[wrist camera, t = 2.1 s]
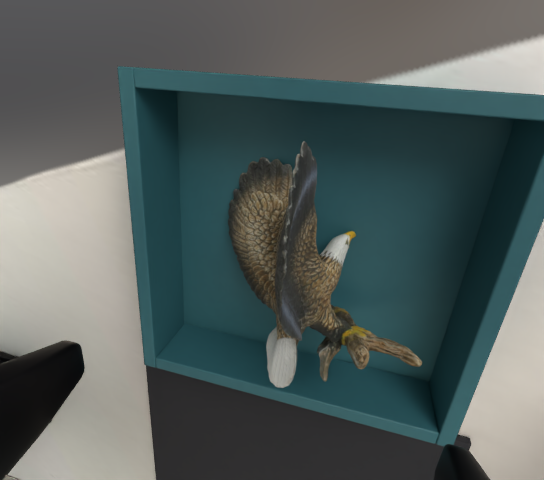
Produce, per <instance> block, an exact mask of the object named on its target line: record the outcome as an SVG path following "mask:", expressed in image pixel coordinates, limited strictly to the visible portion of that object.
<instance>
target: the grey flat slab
mask: <svg viewBox="0 0 544 480" xmlns="http://www.w3.org/2000/svg"><path fill="white" fill-rule="evenodd" d="M3 480H18V479H15V478H12V477H9V476H7V475H6V477H5V478H4V479H3Z"/></svg>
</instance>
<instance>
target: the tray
mask: <svg viewBox="0 0 544 480" xmlns="http://www.w3.org/2000/svg"><path fill="white" fill-rule="evenodd" d="M118 79H119V90H120V101H121V112H122V122H123V134H124V144H125V156H126V167H127V178H128V189H129V200H130V211H131V221H132V232H133V243H134V254H135V265H136V276H137V287H138V298H139V309H140V320H141V331H142V342H143V353H144V364H145V365H148V366H151V367H157V368H159V369H163V370H167V371H170V372H174V373H178V374H181V375H185V376H189V377H192V378H196V379H199V380H203V381H207V382H210V383H214V384H218V385H221V386H225V387H229V388H232V389H236V390H240V391H243V392H247V393H251V394H254V395H258V396H262V397H265V398H269V399H273V400H276V401H280V402H284V403H287V404H291V405H295V406H298V407H302V408H305V409H309V410H313V411H316V412H320V413H324V414H327V415H331V416H335V417H338V418H342V419H346V420H349V421H353V422H357V423H360V424H364V425H368V426H371V427H375V428H379V429H382V430H386V431H390V432H393V433H397V434H401V435H404V436H408V437H411V438H415V439H419V440H422V441H426V442H430V443H433V444H435V443H436V444H437V445H441V446H445V445H447V444H451V445H454V442H455V440H456V437H457V435H458V432H459V430H460V427H461V425H462V422H463V420H464V417H465V415H466V412H467V410H468V407H469V405H470V402H471V400H472V397H473V395H474V392H475V390H476V387H477V385H478V382H479V380H480V377H481V375H482V372H483V370H484V367H485V365H486V362H487V360H488V357H489V355H490V352H491V350H492V347H493V345H494V342H495V340H496V337H497V335H498V332H499V330H500V327H501V325H502V322H503V320H504V317H505V315H506V312H507V310H508V307H509V305H510V302H511V300H512V297H513V295H514V292H515V290H516V287H517V285H518V282H519V280H520V277H521V275H522V272H523V270H524V267H525V264H526V262H527V259H528V257H529V254H530V252H531V249H532V247H533V244H534V242H535V239H536V237H537V234H538V232H539V229H540V227H541V224H542V222H543V219H544V95H535V94H520V93H505V92H490V91H476V90H461V89H446V88H431V87H417V86H402V85H387V84H372V83H358V82H342V81H328V80H313V79H298V78H283V77H268V76H253V75H240V74H225V73H209V72H195V71H181V70H166V69H150V68H137V67H136V68H134V67H122V66H119V67H118ZM303 141H305V142H306V143H307V145H308V146H309V147H310V149H311V152H312V156H314V157H315V159H316V163H317V185H316V192H315V198H314V203H315V210H316V215H317V230H316V246H317V251H318V254H319V255H320V254H321V253H322V252H323V251H324V249H325V248H326V247H327V245H328V244H329V242H330V241H331V240H332V239H333V238H334V237H336V236H339V235H342V234H344V233H347V232H349V231H353V232H355V234H356V236H355V237H354V238H352V239H351V241H350V244H349V248H348V251H347V253H346V256H345V259H344V263H343V267H342V270H341V275H340V278H339V281H338V283H337V286H336V288H335V290H334V291H333V292H332V294H331V298H330V304H331V305H333V306H334V307H339V308H342V309H345V310H346V311H347V312H348V313H349V314H350V315H351V318H352V319H353V321H354V323H355V324H356V325H357V326H359V327H361V328H364V329H365V330H368V331H370V332H371V333H373V334H375V335H376V336H377V337H380V338H387V339H390V340H392V341H395V342H397V343H399V344H401V345H403V346H406V347H407V348H409V349H410V350H411V351H412V352H413V353H414V354H415V355H416V356H417V357H418V358H419V359H420V360H421V361H422V365H421V366H420V367H415V366H411V365H409V364H407V363H405V362H403V361H402V360H401V359H400V358H397V357H395V356H392V355H389V354H385V353H381V352H376V351H369V361H368V364H367V365H366V367H365V368H364V369H358V368H357V367H356V366H355V364H354V362H353V360H352V358H351V356H350V354H349V353H348V350H347V346H343V345H341V349H340V351H339V352H338V353H337V354H336V355H335V356H334V357H333V359H332V360H331V362H330V365H329V368H328V378H327V381H326V382H325V381H323V380H322V378H321V376H320V358H319V353H317V349H318V346H319V345H320V344H321V343H322V341H323V340H324V339H325V337H326V336H323V335H322V334H321V333H320V332H318V331H316V330H313V329H311V328H310V327H309V326H308V327H306V328H305V330H304V332H303V333H302V340H301V341H300V340H299V342H298V345H297V362H296V370H295V375H294V378H293V380H292V382H291V383H290V385H289V386H286V387H284V388H278V387H275V385H274V384H273V383H271V382H270V379H269V372H268V369H267V365H268V361H267V351H266V344H267V340H268V336H269V334H270V333H271V332H272V331H273V330H274V329H275V328H276V326H277V322H276V314H275V313H274V312H273V309H270V308H269V307H268V306H267V305H266V304H263V303H262V302H261V300H260V299H258V298H257V296H256V295H255V293H254V292H253V291H252V290H251V287H250V285H249V284H248V283H247V281H246V279H245V277H244V274H243V271H242V270H241V269H240V265H239V262H238V261H237V255H236V254H235V252H234V250H233V246H232V240H231V238H230V236H229V225H228V219H229V215H228V211H229V203H230V201H231V200H233V198H234V197H233V191H234V190H235V189H239V188H240V187H239V178H240V175H241V174H242V173H247V171H248V166H249V164H250V163H251V162H252V161H256V162H259V160H260V158H261V157H265V158H267V159H268V160H269V161H270V162H272V161H273V160H275V159H278V160H280V162H281V163H282V164H283V165H285V164H290V165H291V166H292V173H293V170H294V169H295V159H296V156H297V154H300V149H301V145H302V142H303Z"/></svg>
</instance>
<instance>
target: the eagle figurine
mask: <svg viewBox="0 0 544 480" xmlns="http://www.w3.org/2000/svg"><path fill="white" fill-rule="evenodd" d="M316 185H317V163H316V159H315V157H314V156H312V152H311V149H310V147H309V146H308V145H307V143H306V142H305V141H303V142H302V145H301V149H300V154H297V156H296V159H295V169H294V170H293V173H292V166H291V165H290V164H285V165H283V164H282V163H281V162H280V160H278V159H275V160H273V161H272V162H270V161H269V160H268V159H267V158H265V157H261V158H260V160H259V162H256V161H252V162H251V163H250V164H249V166H248V171H247V173H242V174H241V175H240V178H239V187H240V188H239V189H235V190H234V191H233V197H234V198H233V200H231V201H230V203H229V211H228V215H229V219H228V225H229V236H230V238H231V240H232V246H233V250H234V252H235V254H236V255H237V261H238V262H239V265H240V269H241V270H242V271H243V274H244V277H245V279H246V281H247V283H248V284H249V285H250V287H251V290H252V291H253V292H254V293H255V295H256V296H257V298H258V299H260V300H261V302H262V303H263V304H266V305H267V306H268V307H269V308H270V309H273V312H274V313H275V314H276V322H277V326H276V328H275V329H274V330H273V331H272V332H271V333H270V334H269V336H268V340H267V344H266V351H267V361H268V365H267V369H268V372H269V379H270V382H271V383H273V384H274V385H275V387H278V388H284V387H286V386H289V385H290V383H291V382H292V380H293V378H294V375H295V370H296V362H297V345H298V342H299V340H300V341H301V340H302V333H303V332H304V330H305V328H306V327H308V326H309V327H310V328H311V329H313V330H316V331H318V332H320V333H321V334H322V335H323V336H326V337H325V339H324V340H323V341H322V343H321V344H320V345H319V346H318V349H317V353H319V358H320V376H321V378H322V380H323V381H325V382H326V381H327V378H328V368H329V365H330V362H331V360H332V359H333V357H334V356H335V355H336V354H337V353H338V352H339V351H340V349H341V345H343V346H347V350H348V353H349V354H350V356H351V358H352V360H353V362H354V364H355V366H356V367H357V368H358V369H364V368H365V367H366V365H367V364H368V361H369V351H376V352H381V353H385V354H389V355H392V356H395V357H397V358H400V359H401V360H402V361H403V362H405V363H407V364H409V365H411V366H415V367H420V366H421V365H422V361H421V360H420V359H419V358H418V357H417V356H416V355H415V354H414V353H413V352H412V351H411V350H410V349H409V348H407V347H406V346H403V345H401V344H399V343H397V342H395V341H392V340H390V339H387V338H380V337H377V336H376V335H375V334H373V333H371V332H370V331H368V330H365V329H364V328H361V327H359V326H357V325H356V324H355V323H354V321H353V319H352V318H351V315H350V314H349V313H348V312H347V311H346V310H345V309H342V308H339V307H334V306H333V305H331V304H330V298H331V294H332V292H333V291H334V290H335V288H336V286H337V283H338V281H339V278H340V275H341V270H342V267H343V263H344V259H345V256H346V253H347V251H348V248H349V244H350V241H351V239H352V238H354V237H355V236H356V234H355V232H353V231H349V232H347V233H344V234H342V235H339V236H336V237H334V238H333V239H332V240H331V241H330V242H329V244H328V245H327V247H326V248H325V249H324V251H323V252H322V253H321V254H320V255H319V254H318V251H317V246H316V230H317V215H316V210H315V203H314V198H315V192H316Z"/></svg>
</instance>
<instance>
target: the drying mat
mask: <svg viewBox="0 0 544 480" xmlns="http://www.w3.org/2000/svg"><path fill="white" fill-rule="evenodd" d="M146 371H147V382H148V393H149V404H150V415H151V427H152V438H153V449H154V460H155V471H156V480H434V475H435V469H436V466H437V464H438V461H439V458H440V456H441V453H442V451H443V448H444V446H441V445H437V444H436V443H435V444H433V443H430V442H426V441H422V440H419V439H415V438H411V437H408V436H404V435H401V434H397V433H393V432H390V431H386V430H382V429H379V428H375V427H371V426H368V425H364V424H360V423H357V422H353V421H349V420H346V419H342V418H338V417H335V416H331V415H327V414H324V413H320V412H316V411H313V410H309V409H305V408H302V407H298V406H295V405H291V404H287V403H284V402H280V401H276V400H273V399H269V398H265V397H262V396H258V395H254V394H251V393H247V392H243V391H240V390H236V389H232V388H229V387H225V386H221V385H218V384H214V383H210V382H207V381H203V380H199V379H196V378H192V377H189V376H185V375H181V374H178V373H174V372H170V371H167V370H163V369H159V368H157V367H151V366H148V365H146ZM454 445H455V446H459V447H462V448H465V449H467V450H468V451H469V448H470V446H471V441H470V438H467V437H463V436H460V435H457V437H456V440H455V442H454Z"/></svg>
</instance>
